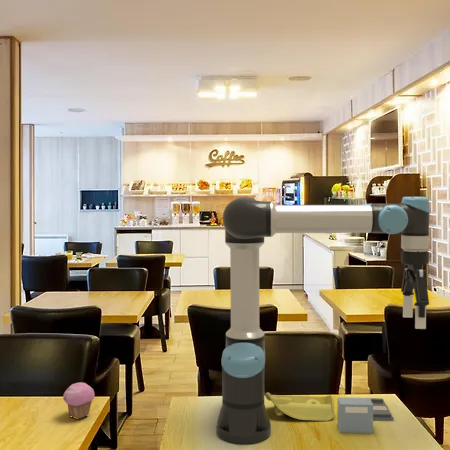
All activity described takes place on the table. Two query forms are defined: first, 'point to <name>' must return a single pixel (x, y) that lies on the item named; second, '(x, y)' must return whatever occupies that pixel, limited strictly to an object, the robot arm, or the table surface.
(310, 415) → the plastic component
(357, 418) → the block
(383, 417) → the rail mount
